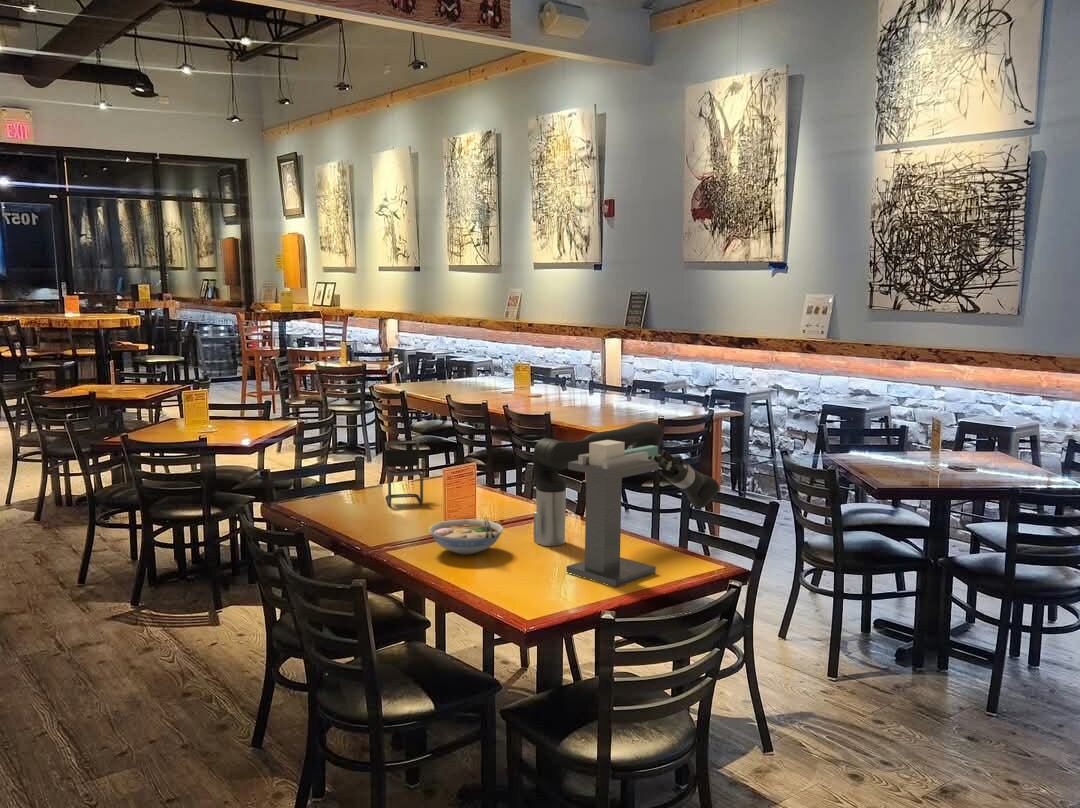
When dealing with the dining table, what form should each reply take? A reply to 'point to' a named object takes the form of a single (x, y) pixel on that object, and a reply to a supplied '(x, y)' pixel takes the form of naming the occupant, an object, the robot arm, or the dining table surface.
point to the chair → (402, 461)
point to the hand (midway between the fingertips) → (650, 451)
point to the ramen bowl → (466, 535)
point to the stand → (608, 519)
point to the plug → (614, 451)
